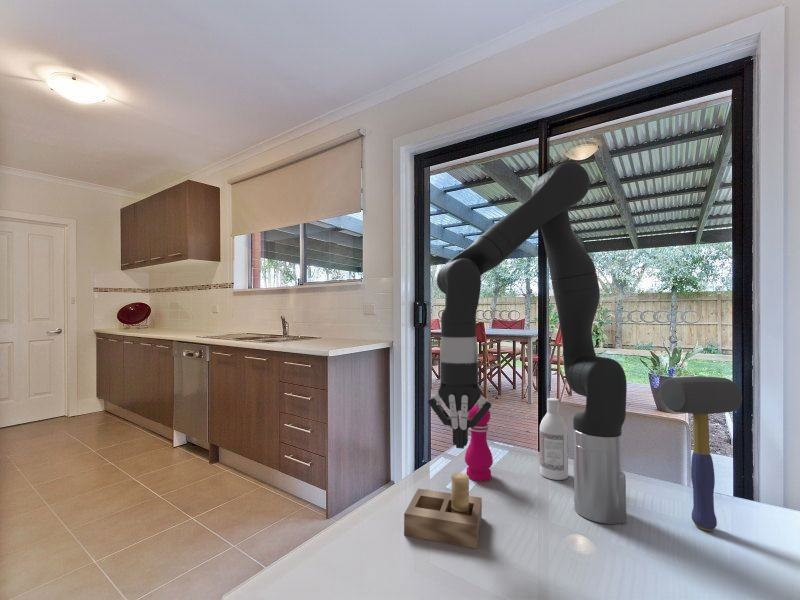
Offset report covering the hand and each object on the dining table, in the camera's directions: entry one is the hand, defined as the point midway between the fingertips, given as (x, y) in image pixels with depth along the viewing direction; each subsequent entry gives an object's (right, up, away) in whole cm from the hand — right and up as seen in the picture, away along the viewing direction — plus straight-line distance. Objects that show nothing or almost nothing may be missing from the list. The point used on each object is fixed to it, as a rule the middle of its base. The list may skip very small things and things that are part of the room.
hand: (460, 447), depth 74 cm
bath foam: (+29, -18, +25) cm, 42 cm away
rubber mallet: (+49, -16, 0) cm, 51 cm away
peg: (0, -16, -1) cm, 16 cm away
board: (-3, -16, 0) cm, 16 cm away
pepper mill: (+9, -17, +24) cm, 30 cm away
